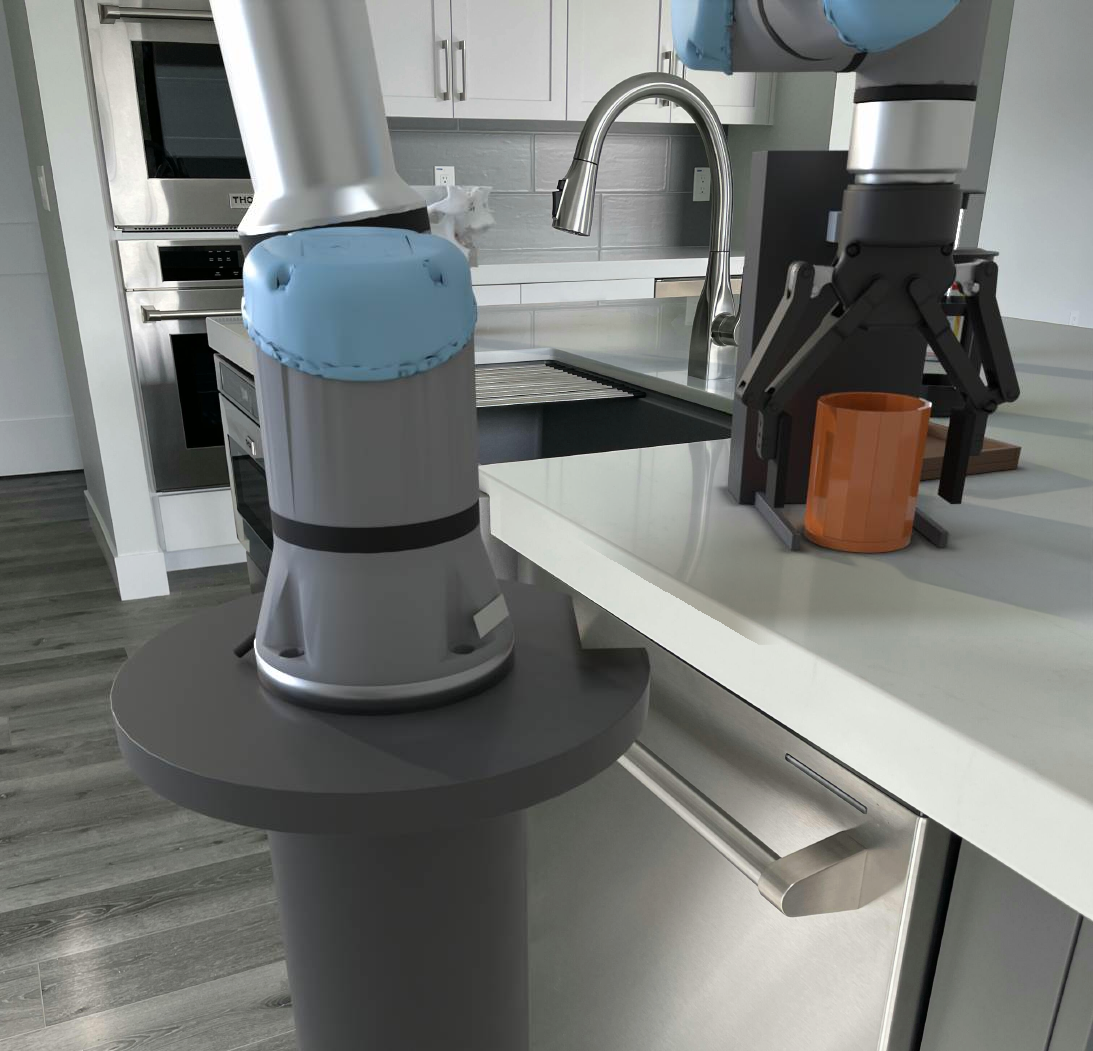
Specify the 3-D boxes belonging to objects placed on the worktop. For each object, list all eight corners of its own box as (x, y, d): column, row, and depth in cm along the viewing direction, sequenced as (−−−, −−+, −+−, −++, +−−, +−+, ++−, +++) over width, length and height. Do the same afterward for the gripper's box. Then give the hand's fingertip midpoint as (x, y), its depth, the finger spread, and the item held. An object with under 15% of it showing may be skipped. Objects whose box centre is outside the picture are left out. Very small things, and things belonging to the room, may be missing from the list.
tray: (903, 482, 96) (906, 460, 95) (815, 451, 106) (817, 431, 106) (1017, 468, 100) (1021, 446, 99) (921, 440, 111) (925, 420, 110)
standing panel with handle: (774, 550, 79) (814, 146, 67) (726, 488, 94) (752, 151, 82) (962, 547, 79) (1035, 145, 67) (884, 486, 95) (932, 151, 83)
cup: (819, 554, 78) (836, 412, 73) (792, 523, 85) (806, 392, 80) (925, 552, 78) (949, 411, 74) (889, 521, 85) (909, 391, 81)
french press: (870, 403, 129) (898, 188, 118) (936, 398, 131) (970, 187, 121) (929, 422, 119) (966, 189, 108) (1000, 416, 121) (1043, 189, 111)
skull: (344, 340, 179) (331, 186, 168) (369, 326, 196) (359, 185, 185) (493, 341, 177) (490, 186, 167) (506, 327, 194) (503, 184, 183)
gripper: (1061, 178, 74) (1002, 485, 84) (706, 180, 73) (689, 491, 83) (1117, 178, 68) (1047, 511, 77) (729, 181, 67) (707, 518, 76)
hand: (861, 501), depth 80 cm, fingers open, 12 cm apart
